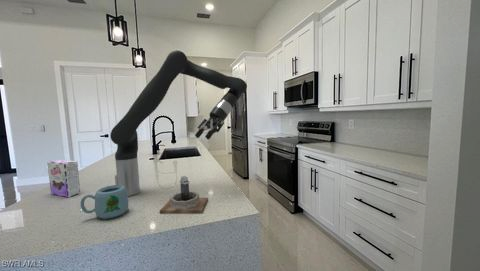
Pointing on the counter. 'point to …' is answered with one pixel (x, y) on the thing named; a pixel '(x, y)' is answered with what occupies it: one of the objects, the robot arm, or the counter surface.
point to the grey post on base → (184, 189)
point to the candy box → (64, 178)
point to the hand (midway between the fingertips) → (201, 137)
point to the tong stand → (184, 204)
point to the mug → (108, 202)
